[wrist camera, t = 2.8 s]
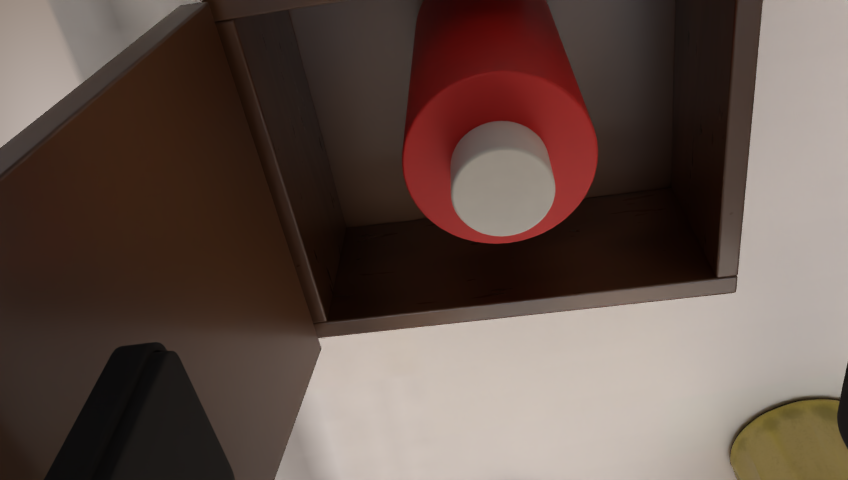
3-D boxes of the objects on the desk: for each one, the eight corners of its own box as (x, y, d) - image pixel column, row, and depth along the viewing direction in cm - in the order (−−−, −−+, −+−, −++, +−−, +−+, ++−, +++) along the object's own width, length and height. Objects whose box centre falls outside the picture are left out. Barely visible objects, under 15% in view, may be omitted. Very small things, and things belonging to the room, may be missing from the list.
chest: (695, -138, 20) (772, -98, 15) (683, 191, 25) (737, 293, 21) (253, -61, 21) (199, -4, 16) (336, 234, 27) (313, 339, 22)
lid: (-434, 543, 6) (-828, 527, 6) (111, 939, 11) (-144, 900, 12) (208, 0, 16) (20, 26, 17) (322, 348, 22) (175, 352, 23)
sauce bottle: (404, -25, 21) (379, 113, 13) (546, -49, 20) (606, 81, 13) (427, 105, 23) (417, 288, 15) (556, 87, 23) (611, 265, 15)
